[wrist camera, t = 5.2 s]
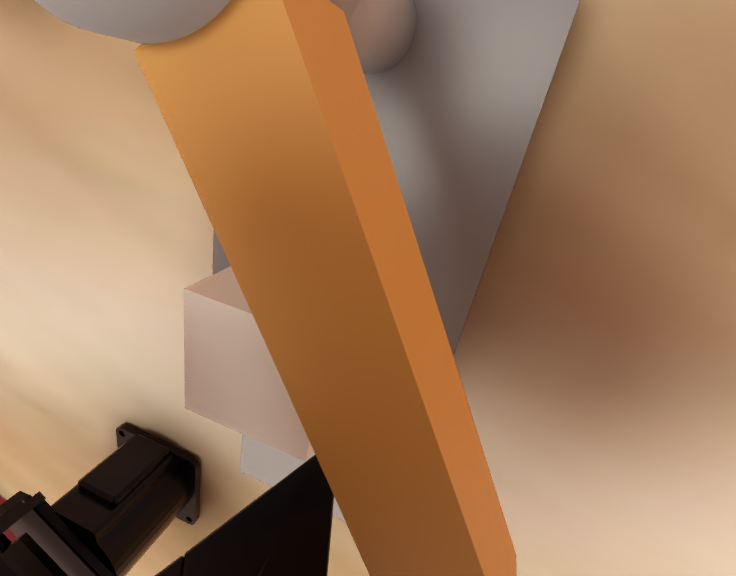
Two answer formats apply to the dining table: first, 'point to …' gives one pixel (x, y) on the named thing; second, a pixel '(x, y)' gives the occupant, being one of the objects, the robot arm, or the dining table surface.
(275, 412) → the plug
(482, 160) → the socket block
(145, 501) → the robot arm
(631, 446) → the dining table surface
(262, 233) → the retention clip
